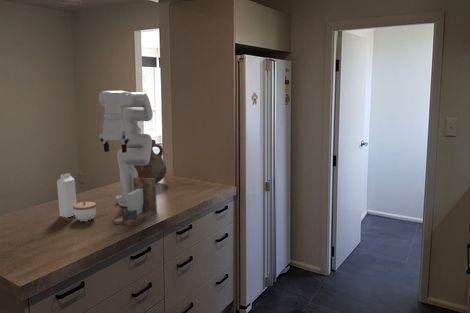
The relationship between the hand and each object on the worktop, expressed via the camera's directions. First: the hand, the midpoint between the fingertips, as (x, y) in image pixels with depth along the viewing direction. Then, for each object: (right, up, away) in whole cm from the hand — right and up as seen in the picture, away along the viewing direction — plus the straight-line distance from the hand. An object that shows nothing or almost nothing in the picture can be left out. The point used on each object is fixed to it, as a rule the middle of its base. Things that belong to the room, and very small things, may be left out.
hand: (115, 151), depth 200 cm
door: (+9, -32, +4) cm, 33 cm away
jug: (+2, -21, +74) cm, 77 cm away
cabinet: (+9, -33, +4) cm, 35 cm away
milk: (-26, -33, +8) cm, 43 cm away
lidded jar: (-15, -34, +2) cm, 37 cm away
